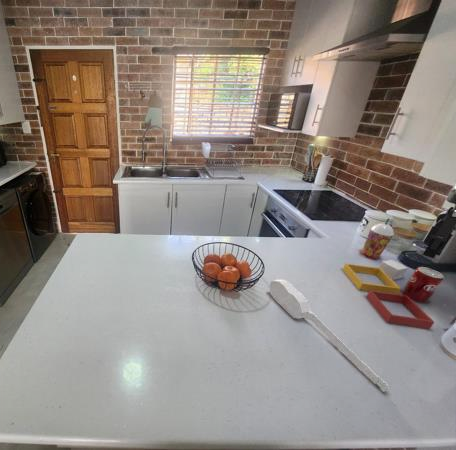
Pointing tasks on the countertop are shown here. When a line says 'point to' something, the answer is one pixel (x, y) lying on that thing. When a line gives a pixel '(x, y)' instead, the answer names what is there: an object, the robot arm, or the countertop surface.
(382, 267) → the white cube
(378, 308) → the red bin
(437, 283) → the soda can
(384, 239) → the smoothie
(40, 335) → the countertop surface
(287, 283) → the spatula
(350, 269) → the yellow bin
